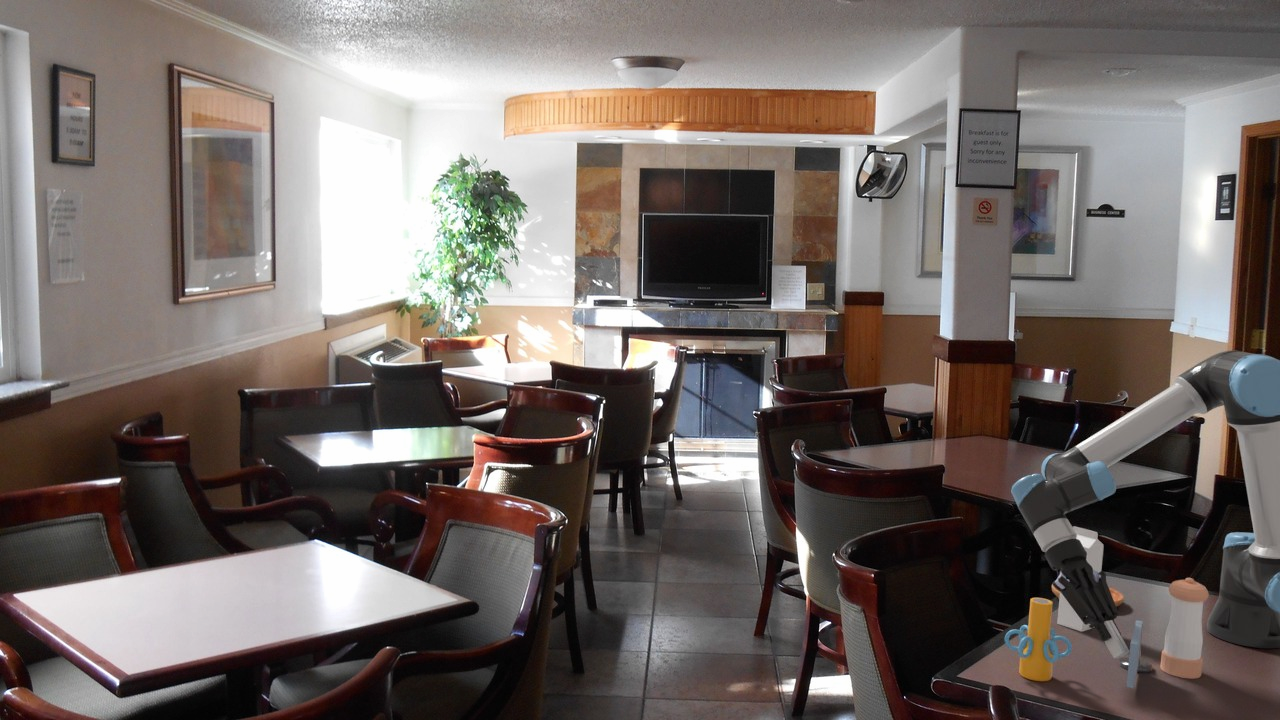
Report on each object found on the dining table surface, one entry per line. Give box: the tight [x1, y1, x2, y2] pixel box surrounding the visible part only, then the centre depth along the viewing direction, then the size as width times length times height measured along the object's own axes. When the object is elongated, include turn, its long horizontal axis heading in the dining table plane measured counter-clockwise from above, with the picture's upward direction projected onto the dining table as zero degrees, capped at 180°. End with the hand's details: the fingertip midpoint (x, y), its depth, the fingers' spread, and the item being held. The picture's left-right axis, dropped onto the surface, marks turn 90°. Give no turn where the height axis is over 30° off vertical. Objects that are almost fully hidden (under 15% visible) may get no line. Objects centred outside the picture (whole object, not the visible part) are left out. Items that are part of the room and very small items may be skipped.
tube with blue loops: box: [1004, 597, 1073, 682], centre depth 205 cm, size 12×10×15 cm
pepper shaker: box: [1160, 577, 1210, 680], centre depth 210 cm, size 7×7×19 cm
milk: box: [1057, 525, 1104, 633], centre depth 234 cm, size 6×6×22 cm
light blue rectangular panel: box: [1125, 619, 1144, 689], centre depth 204 cm, size 15×1×8 cm, turn 151°
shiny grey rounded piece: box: [1118, 649, 1153, 674], centre depth 212 cm, size 6×6×4 cm
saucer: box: [1051, 583, 1125, 608], centre depth 253 cm, size 16×16×3 cm
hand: (1121, 654), depth 203 cm, fingers closed
